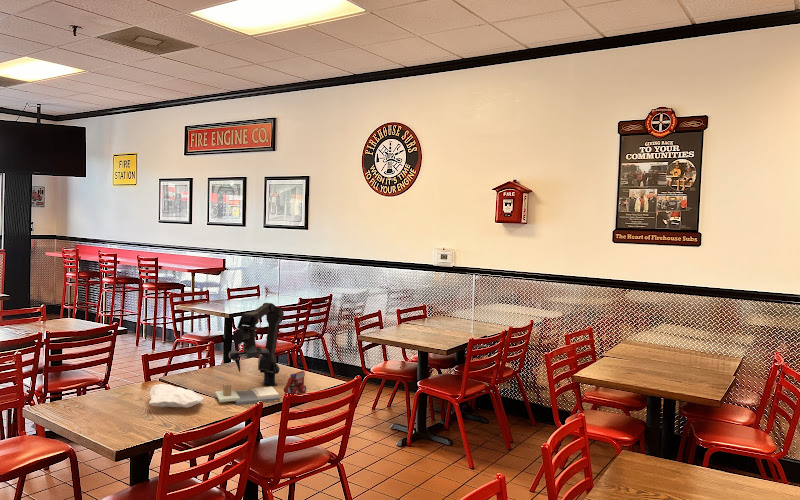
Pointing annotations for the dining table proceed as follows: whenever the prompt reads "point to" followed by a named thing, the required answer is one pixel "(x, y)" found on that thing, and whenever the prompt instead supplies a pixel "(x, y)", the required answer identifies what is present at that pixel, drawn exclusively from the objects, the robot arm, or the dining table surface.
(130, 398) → the dining table surface
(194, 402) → the white rock
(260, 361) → the robot arm
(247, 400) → the board
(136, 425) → the dining table surface
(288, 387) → the toy fire truck
